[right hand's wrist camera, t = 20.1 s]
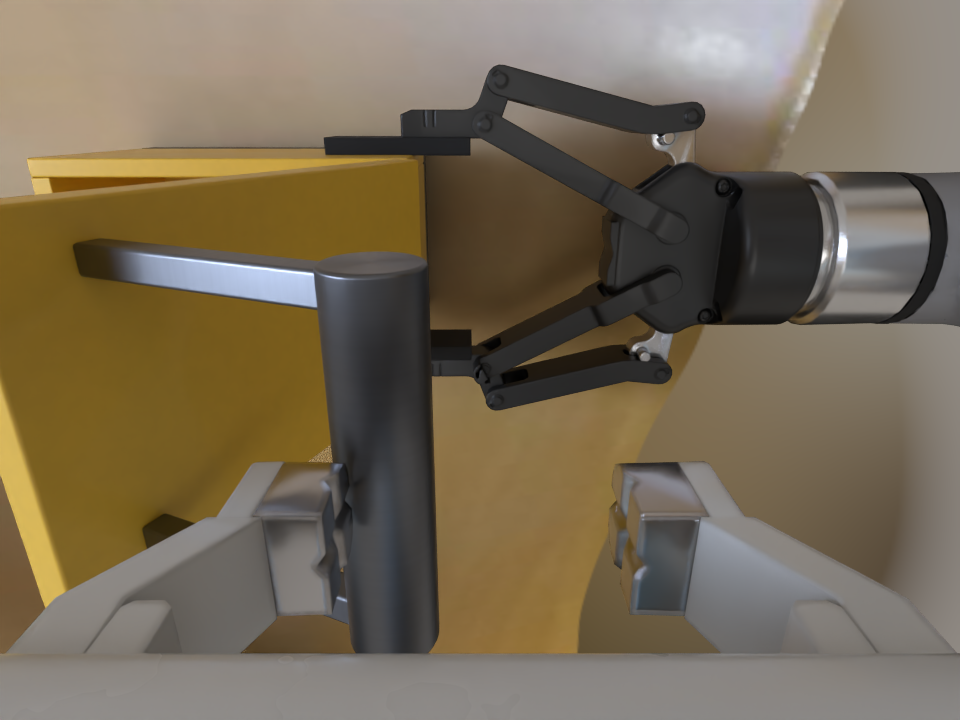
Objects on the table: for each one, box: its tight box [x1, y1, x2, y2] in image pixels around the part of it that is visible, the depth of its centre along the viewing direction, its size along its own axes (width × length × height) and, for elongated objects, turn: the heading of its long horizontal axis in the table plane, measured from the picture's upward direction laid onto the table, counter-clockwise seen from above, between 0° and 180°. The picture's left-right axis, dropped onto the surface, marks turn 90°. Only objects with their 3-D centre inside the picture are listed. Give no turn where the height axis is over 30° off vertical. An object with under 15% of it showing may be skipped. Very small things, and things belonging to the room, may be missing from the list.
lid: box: [0, 159, 439, 654], centre depth 17 cm, size 16×9×9 cm
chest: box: [27, 148, 429, 272], centre depth 31 cm, size 15×9×11 cm, turn 90°
